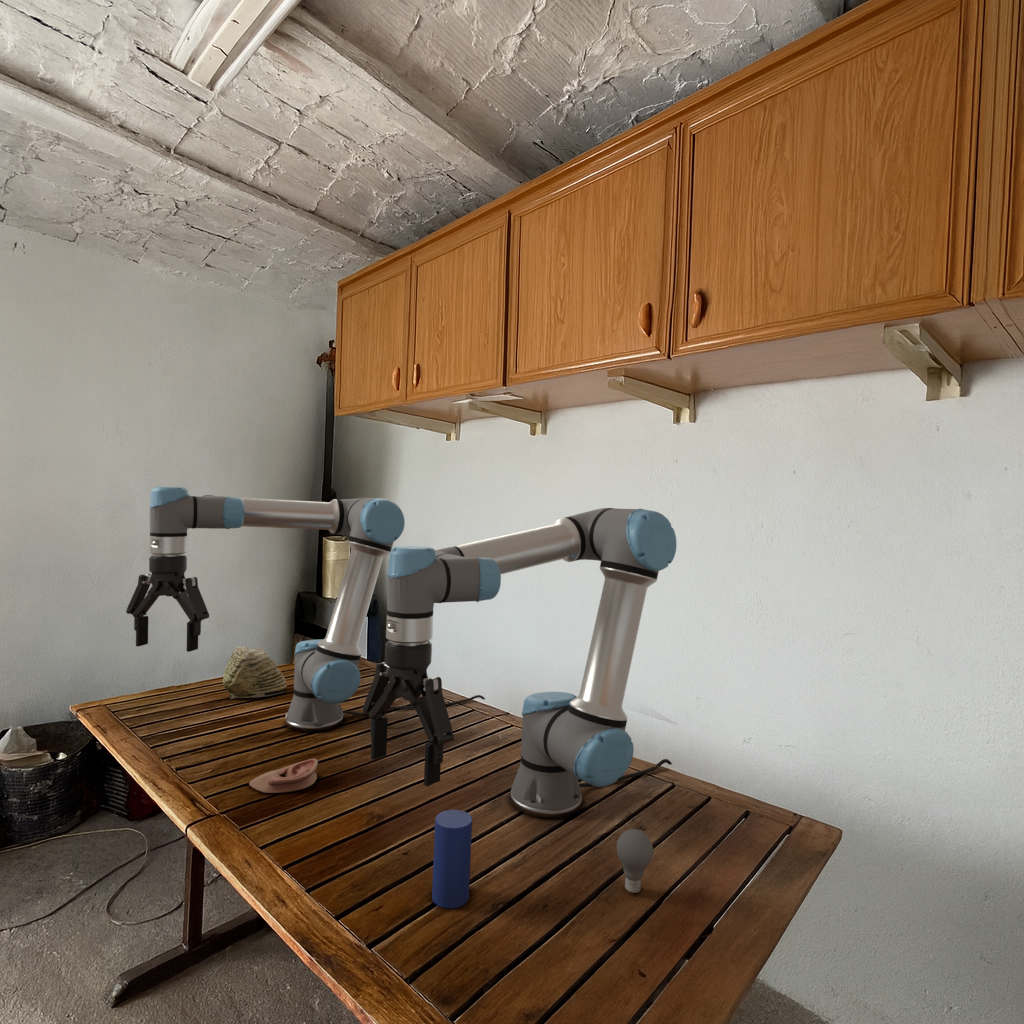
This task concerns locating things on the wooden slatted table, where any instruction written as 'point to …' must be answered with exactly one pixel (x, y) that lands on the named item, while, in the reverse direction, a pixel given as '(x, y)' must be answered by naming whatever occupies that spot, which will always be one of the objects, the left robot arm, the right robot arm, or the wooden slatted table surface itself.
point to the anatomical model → (287, 778)
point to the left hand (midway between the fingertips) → (166, 647)
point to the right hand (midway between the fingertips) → (404, 769)
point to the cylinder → (452, 858)
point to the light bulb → (634, 857)
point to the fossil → (252, 674)
